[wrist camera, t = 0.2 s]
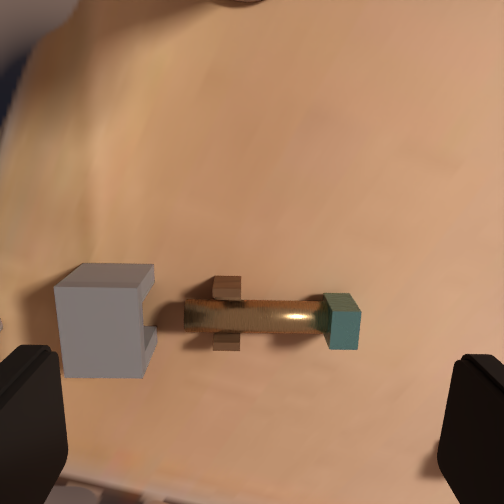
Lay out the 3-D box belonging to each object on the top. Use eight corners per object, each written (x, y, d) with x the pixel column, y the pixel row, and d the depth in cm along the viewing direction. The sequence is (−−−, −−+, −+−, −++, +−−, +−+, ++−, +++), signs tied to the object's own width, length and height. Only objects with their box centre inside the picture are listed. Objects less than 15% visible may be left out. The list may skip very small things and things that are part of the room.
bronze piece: (188, 291, 46) (181, 309, 42) (349, 293, 47) (361, 311, 42) (188, 326, 48) (182, 347, 43) (346, 328, 48) (357, 349, 43)
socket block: (83, 262, 46) (53, 286, 39) (153, 264, 47) (137, 288, 39) (90, 341, 49) (64, 377, 42) (157, 342, 49) (142, 378, 42)
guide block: (215, 275, 47) (212, 288, 43) (241, 276, 47) (240, 288, 43) (215, 333, 49) (212, 350, 45) (240, 333, 49) (239, 350, 46)
